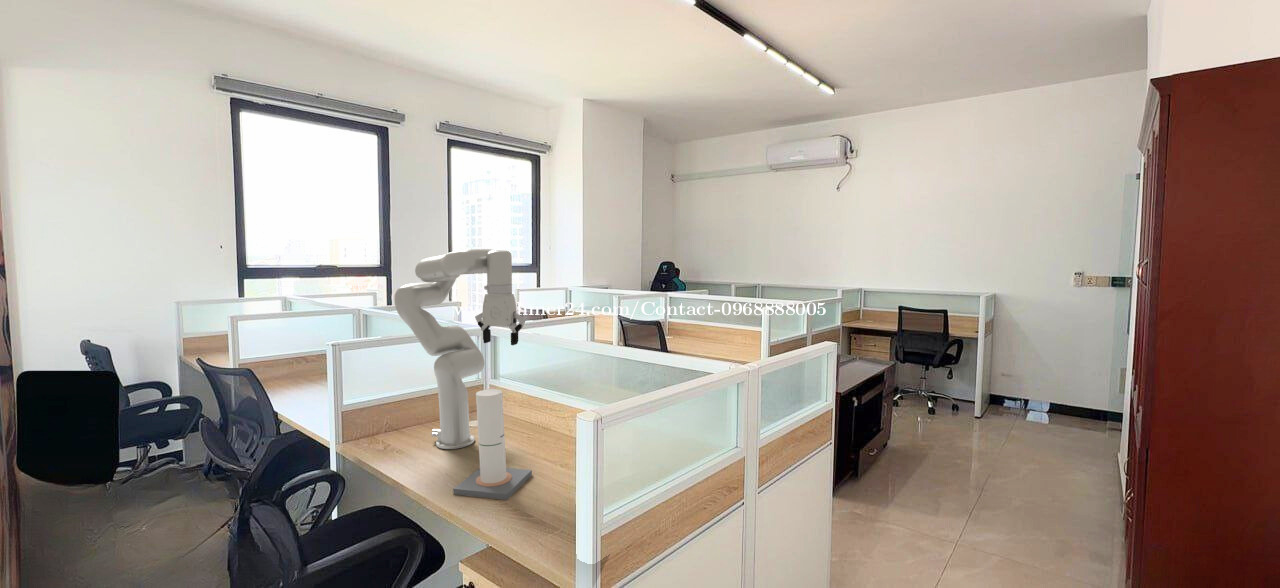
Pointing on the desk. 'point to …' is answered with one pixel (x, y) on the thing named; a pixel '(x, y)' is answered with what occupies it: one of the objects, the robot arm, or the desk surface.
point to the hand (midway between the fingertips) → (500, 343)
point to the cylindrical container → (491, 435)
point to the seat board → (493, 484)
